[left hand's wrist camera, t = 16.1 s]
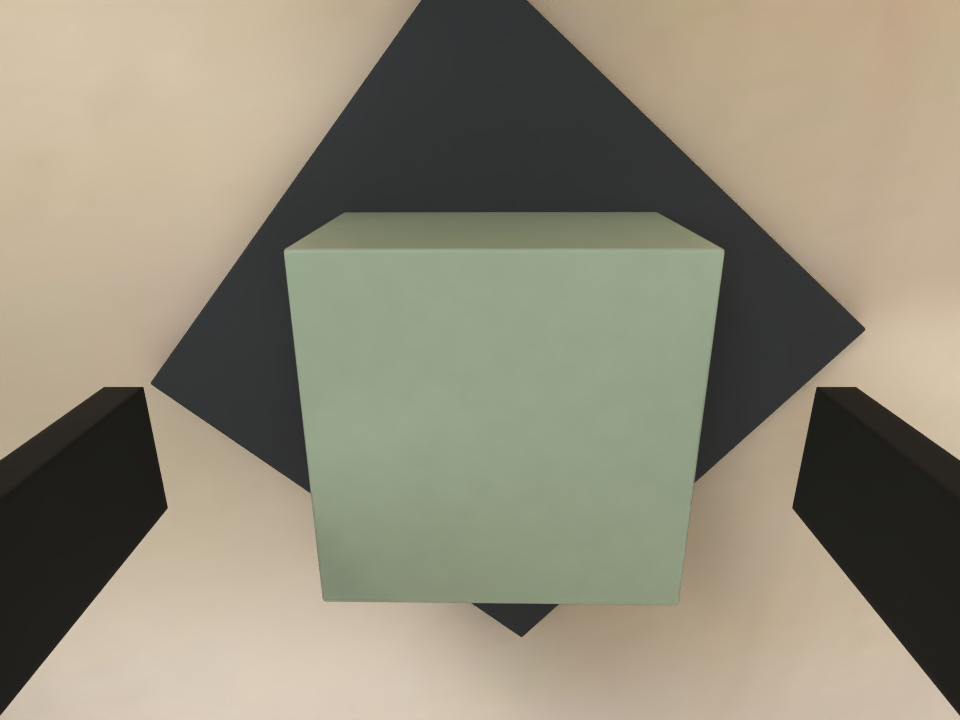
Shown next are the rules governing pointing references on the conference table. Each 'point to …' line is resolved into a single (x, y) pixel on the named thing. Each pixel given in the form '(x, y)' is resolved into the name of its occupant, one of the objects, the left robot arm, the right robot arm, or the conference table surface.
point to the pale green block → (502, 402)
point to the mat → (499, 188)
